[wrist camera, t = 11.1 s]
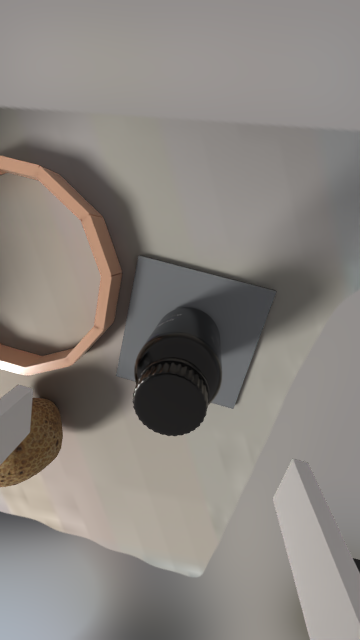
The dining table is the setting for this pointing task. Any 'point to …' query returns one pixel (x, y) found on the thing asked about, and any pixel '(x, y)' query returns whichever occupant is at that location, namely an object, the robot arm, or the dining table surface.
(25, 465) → the natural sponge
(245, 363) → the mat
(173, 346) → the supplement bottle
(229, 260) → the dining table surface
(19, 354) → the pink polygonal hoop
